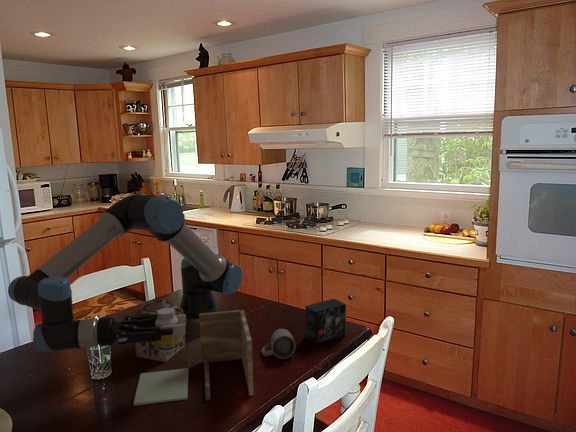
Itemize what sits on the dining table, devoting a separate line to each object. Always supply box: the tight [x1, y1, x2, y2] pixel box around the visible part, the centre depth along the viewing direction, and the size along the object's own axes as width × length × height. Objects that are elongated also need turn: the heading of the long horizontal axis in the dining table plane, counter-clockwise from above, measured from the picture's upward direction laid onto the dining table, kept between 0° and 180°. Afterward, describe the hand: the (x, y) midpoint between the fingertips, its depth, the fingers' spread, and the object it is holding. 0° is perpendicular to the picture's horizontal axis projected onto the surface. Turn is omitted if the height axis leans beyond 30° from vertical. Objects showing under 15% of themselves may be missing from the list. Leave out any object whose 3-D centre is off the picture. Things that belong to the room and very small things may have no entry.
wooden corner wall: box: [199, 309, 255, 402], centre depth 133 cm, size 23×14×16 cm, turn 11°
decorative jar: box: [134, 298, 186, 363], centre depth 149 cm, size 12×12×18 cm
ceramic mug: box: [261, 328, 296, 360], centre depth 148 cm, size 11×8×8 cm
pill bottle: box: [155, 308, 180, 352], centre depth 127 cm, size 6×6×11 cm
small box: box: [304, 298, 347, 345], centre depth 159 cm, size 13×7×12 cm, turn 123°
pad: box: [133, 367, 189, 406], centre depth 130 cm, size 16×14×1 cm
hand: (185, 324), depth 128 cm, fingers closed on pill bottle, 6 cm apart
